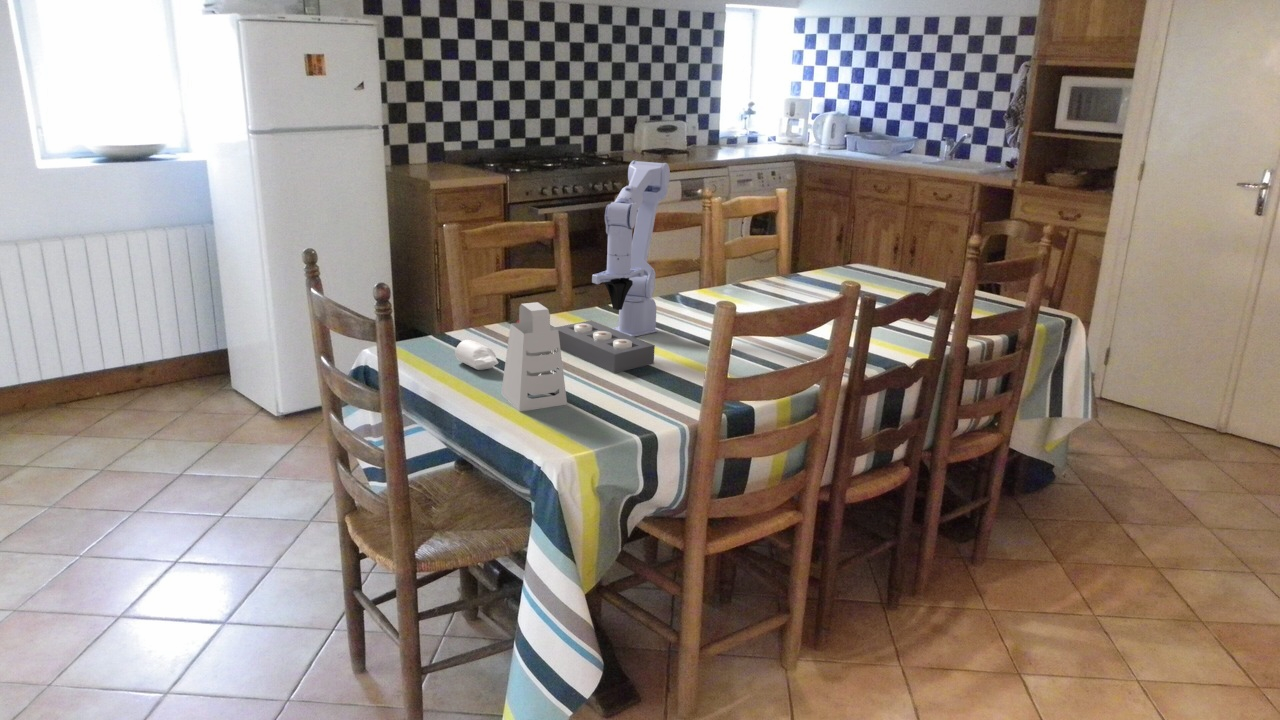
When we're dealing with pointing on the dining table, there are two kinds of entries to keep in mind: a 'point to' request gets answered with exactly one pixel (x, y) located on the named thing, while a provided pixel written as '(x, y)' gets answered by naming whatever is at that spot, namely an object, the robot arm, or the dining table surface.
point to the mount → (605, 348)
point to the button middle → (602, 335)
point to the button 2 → (622, 344)
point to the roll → (475, 355)
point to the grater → (533, 361)
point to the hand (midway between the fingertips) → (617, 308)
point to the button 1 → (582, 328)
